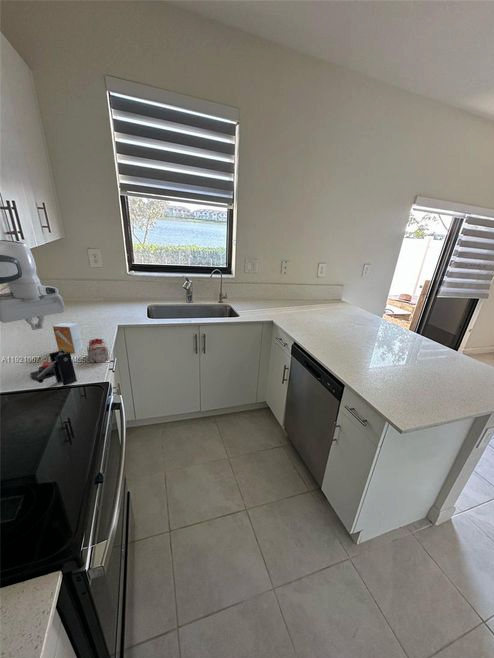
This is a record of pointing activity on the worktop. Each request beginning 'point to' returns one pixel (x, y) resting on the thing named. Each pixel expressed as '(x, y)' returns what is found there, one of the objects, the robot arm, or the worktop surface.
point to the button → (46, 364)
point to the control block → (49, 374)
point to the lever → (45, 371)
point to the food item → (97, 350)
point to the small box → (68, 337)
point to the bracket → (63, 368)
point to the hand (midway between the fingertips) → (37, 328)
